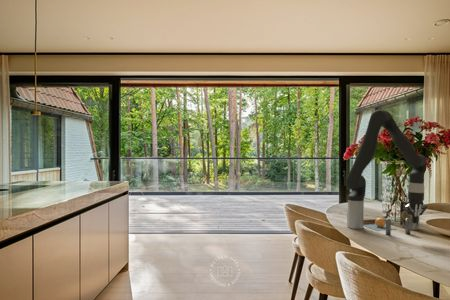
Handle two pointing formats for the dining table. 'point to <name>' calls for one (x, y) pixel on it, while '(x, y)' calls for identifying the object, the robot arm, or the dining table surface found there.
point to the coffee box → (406, 216)
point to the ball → (380, 222)
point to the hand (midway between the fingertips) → (415, 223)
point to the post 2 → (408, 226)
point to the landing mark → (377, 227)
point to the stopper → (369, 221)
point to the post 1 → (388, 226)
